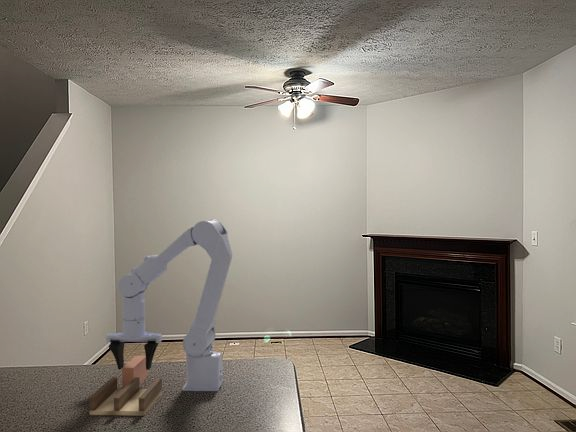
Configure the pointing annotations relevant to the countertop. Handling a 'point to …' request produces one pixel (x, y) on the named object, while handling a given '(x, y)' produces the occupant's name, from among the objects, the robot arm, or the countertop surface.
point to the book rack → (124, 398)
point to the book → (134, 370)
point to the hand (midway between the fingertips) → (134, 368)
